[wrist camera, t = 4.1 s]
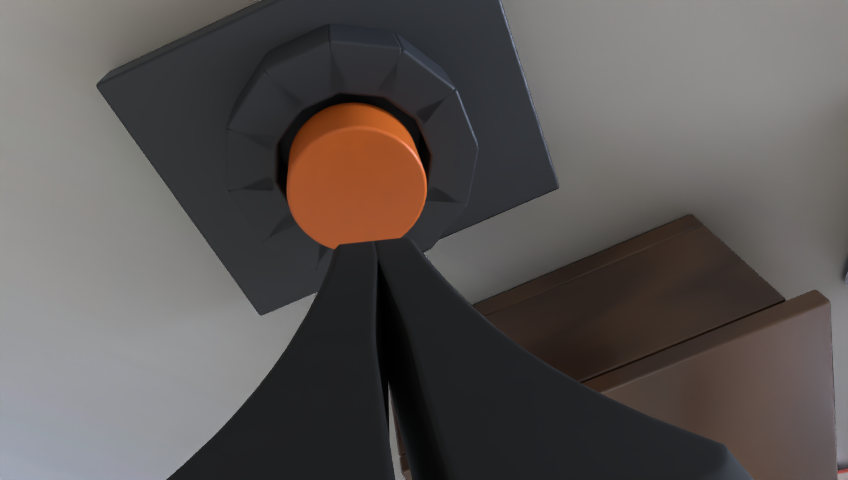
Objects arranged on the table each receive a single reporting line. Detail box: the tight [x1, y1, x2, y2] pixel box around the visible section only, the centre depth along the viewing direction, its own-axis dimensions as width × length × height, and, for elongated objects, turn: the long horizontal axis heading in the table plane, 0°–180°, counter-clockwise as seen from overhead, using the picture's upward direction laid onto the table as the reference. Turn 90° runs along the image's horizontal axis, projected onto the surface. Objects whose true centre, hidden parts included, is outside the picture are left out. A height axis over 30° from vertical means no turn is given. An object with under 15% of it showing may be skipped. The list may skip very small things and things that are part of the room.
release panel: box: [96, 0, 559, 315], centre depth 17 cm, size 10×8×3 cm
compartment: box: [389, 215, 785, 457], centre depth 23 cm, size 12×13×5 cm
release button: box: [286, 103, 427, 249], centre depth 15 cm, size 3×3×2 cm
